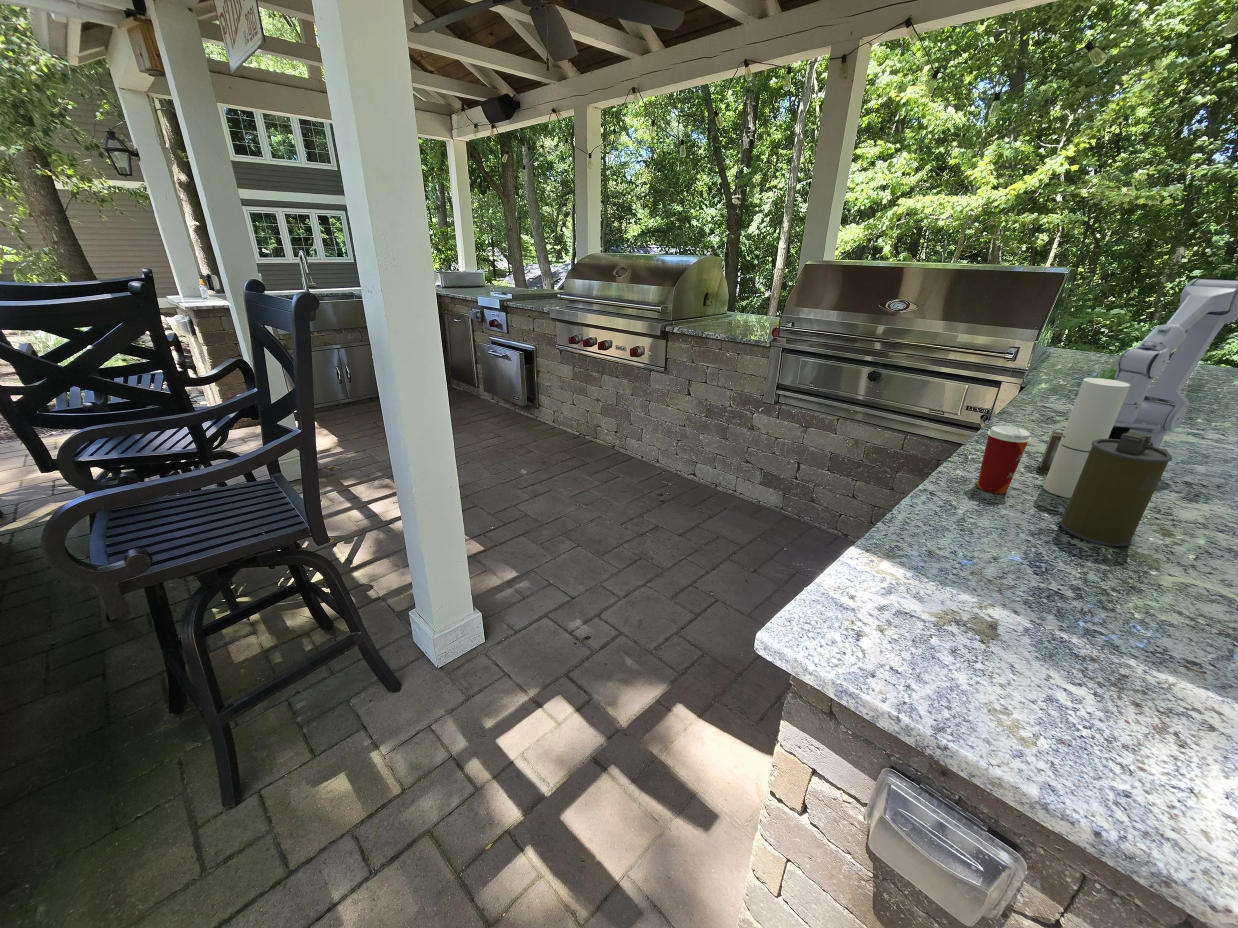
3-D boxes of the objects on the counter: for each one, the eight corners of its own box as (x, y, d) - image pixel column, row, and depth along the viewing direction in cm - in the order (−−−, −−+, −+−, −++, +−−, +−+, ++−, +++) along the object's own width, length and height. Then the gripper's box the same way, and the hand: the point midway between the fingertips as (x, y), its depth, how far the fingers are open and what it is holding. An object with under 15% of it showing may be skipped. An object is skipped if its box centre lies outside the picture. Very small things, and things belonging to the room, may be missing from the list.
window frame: (1039, 464, 126) (1052, 430, 122) (1149, 485, 115) (1166, 449, 111) (1039, 469, 123) (1052, 435, 120) (1152, 491, 112) (1170, 454, 108)
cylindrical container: (1077, 487, 114) (1121, 380, 104) (1089, 500, 108) (1136, 388, 98) (1039, 482, 116) (1078, 376, 107) (1048, 494, 111) (1090, 384, 101)
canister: (1115, 552, 89) (1164, 449, 82) (1048, 526, 98) (1086, 430, 90) (1142, 537, 94) (1191, 438, 86) (1076, 513, 103) (1114, 421, 95)
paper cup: (1019, 497, 109) (1040, 437, 104) (980, 494, 111) (999, 435, 105) (1001, 482, 116) (1020, 425, 111) (965, 479, 118) (982, 423, 112)
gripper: (1085, 400, 117) (1064, 453, 122) (1172, 411, 109) (1146, 467, 114) (1082, 393, 122) (1063, 445, 127) (1165, 403, 114) (1141, 458, 119)
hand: (1102, 455), depth 121 cm, fingers closed
